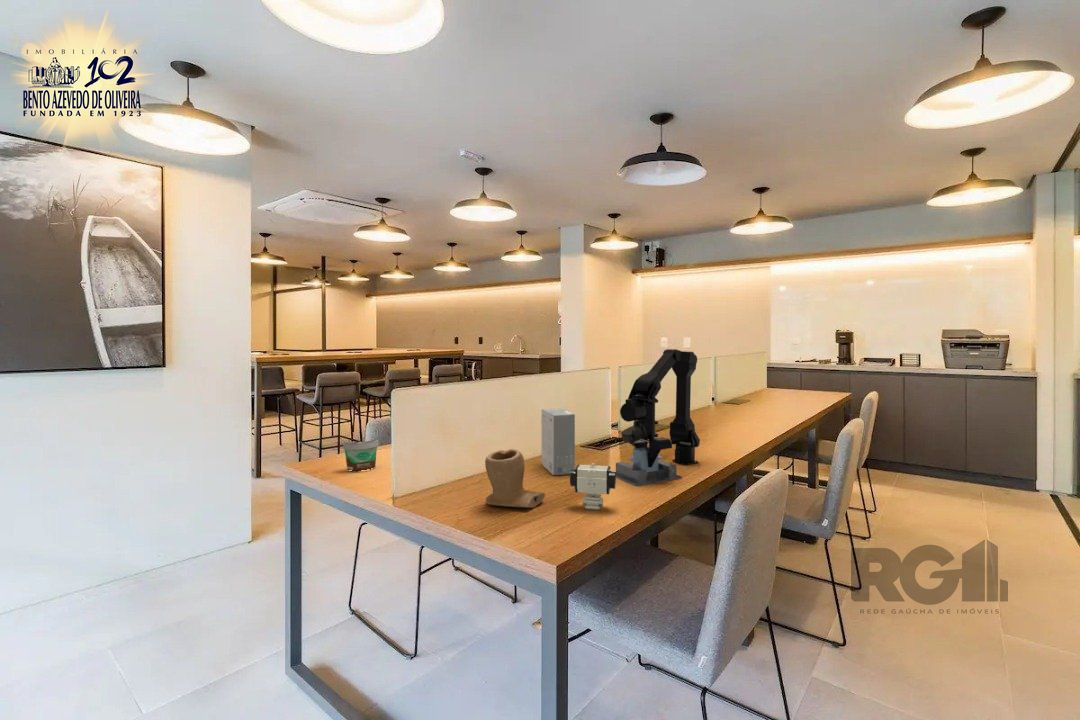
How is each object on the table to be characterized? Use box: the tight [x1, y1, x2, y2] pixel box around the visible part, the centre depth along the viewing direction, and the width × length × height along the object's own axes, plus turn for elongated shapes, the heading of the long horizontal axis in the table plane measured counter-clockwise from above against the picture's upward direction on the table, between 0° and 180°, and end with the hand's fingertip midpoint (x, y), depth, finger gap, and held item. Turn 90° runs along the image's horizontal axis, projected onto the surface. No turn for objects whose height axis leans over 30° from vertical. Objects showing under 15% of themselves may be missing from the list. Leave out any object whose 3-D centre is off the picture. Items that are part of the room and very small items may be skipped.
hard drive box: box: [540, 408, 576, 476], centre depth 170 cm, size 16×8×20 cm, turn 15°
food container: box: [342, 437, 380, 471], centre depth 171 cm, size 12×6×10 cm, turn 132°
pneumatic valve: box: [569, 462, 617, 511], centre depth 132 cm, size 6×12×12 cm, turn 77°
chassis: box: [615, 459, 683, 487], centre depth 161 cm, size 18×14×4 cm
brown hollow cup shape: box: [484, 448, 546, 509], centre depth 134 cm, size 15×12×15 cm
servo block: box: [627, 447, 664, 472], centre depth 161 cm, size 11×4×7 cm, turn 116°
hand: (645, 465), depth 161 cm, fingers closed on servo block, 4 cm apart
